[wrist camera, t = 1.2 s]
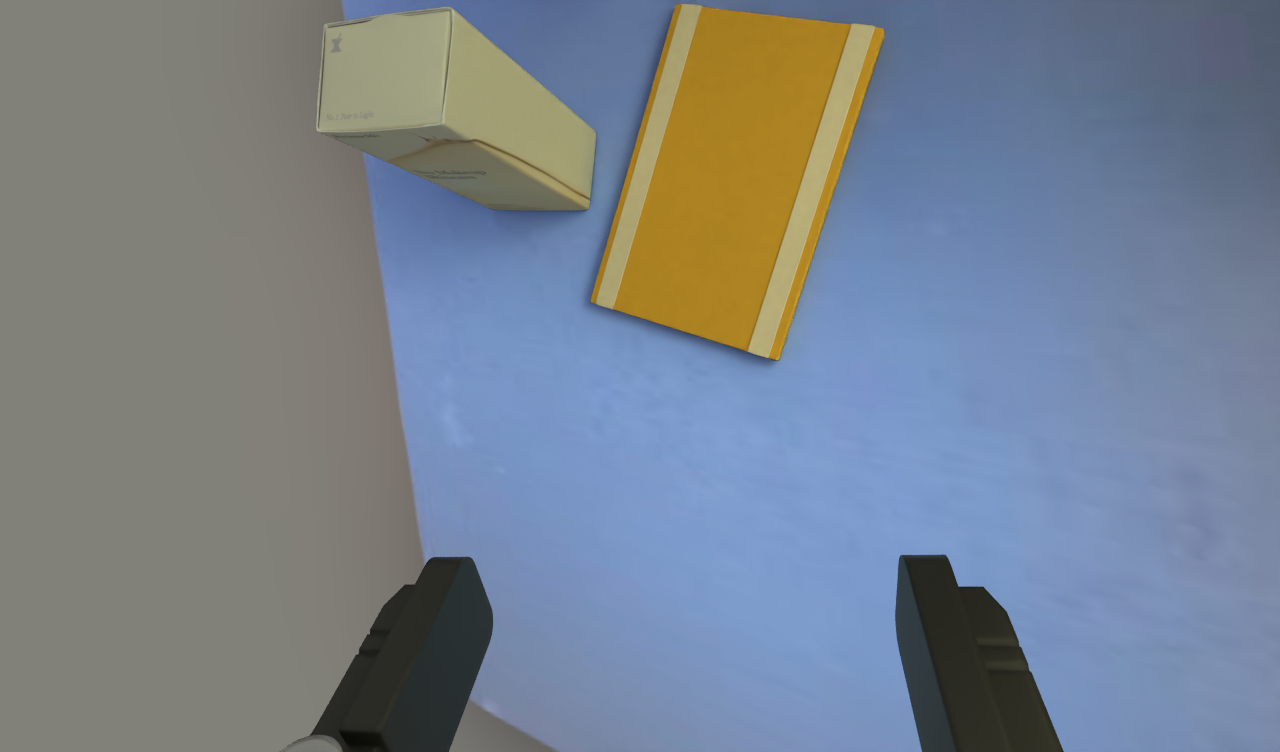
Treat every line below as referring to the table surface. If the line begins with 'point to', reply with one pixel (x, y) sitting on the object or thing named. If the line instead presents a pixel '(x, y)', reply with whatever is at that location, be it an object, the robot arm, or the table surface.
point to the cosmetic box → (452, 111)
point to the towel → (735, 173)
